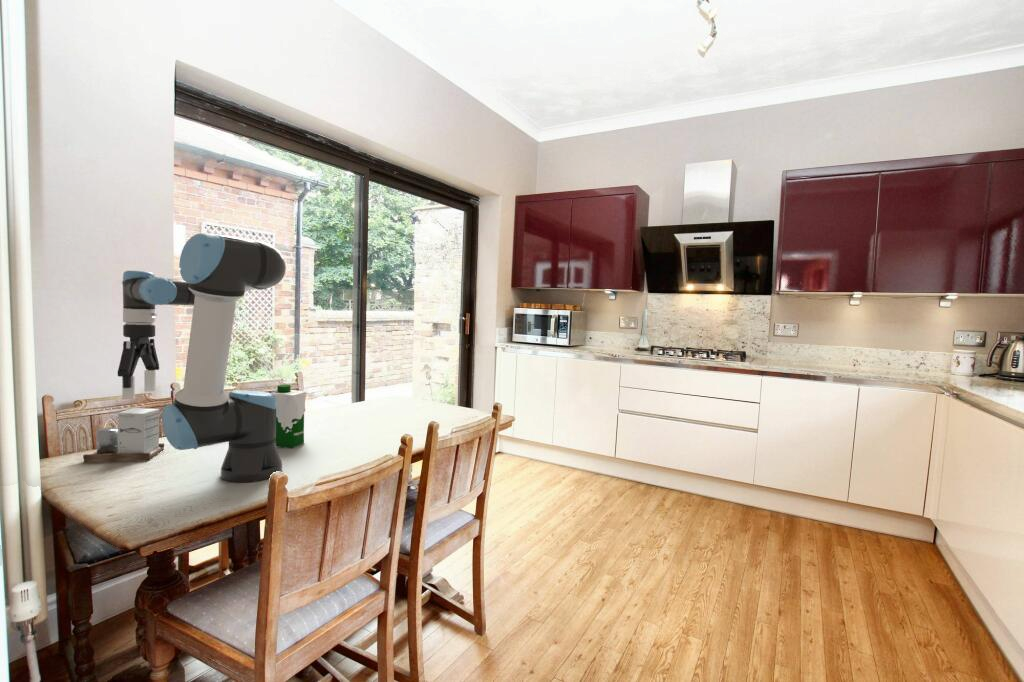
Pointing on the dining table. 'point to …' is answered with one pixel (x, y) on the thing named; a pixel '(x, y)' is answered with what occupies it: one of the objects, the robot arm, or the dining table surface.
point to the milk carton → (289, 416)
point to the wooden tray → (122, 456)
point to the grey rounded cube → (107, 440)
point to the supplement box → (138, 430)
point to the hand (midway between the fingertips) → (139, 395)
